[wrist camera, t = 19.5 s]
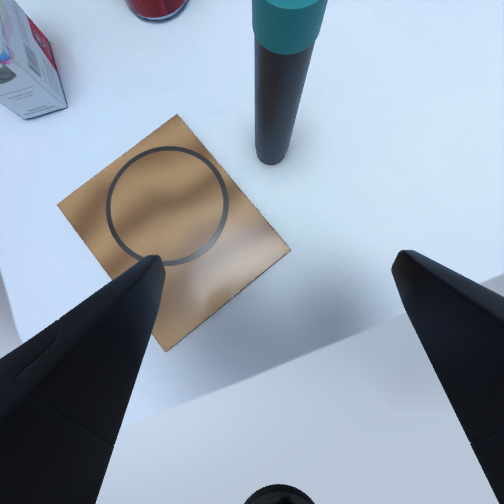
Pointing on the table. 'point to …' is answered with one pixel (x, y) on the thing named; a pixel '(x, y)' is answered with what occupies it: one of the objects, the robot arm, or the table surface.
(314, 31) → the disc
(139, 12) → the soda can
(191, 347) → the table surface
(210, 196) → the sketch board
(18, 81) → the ink box
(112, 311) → the robot arm
